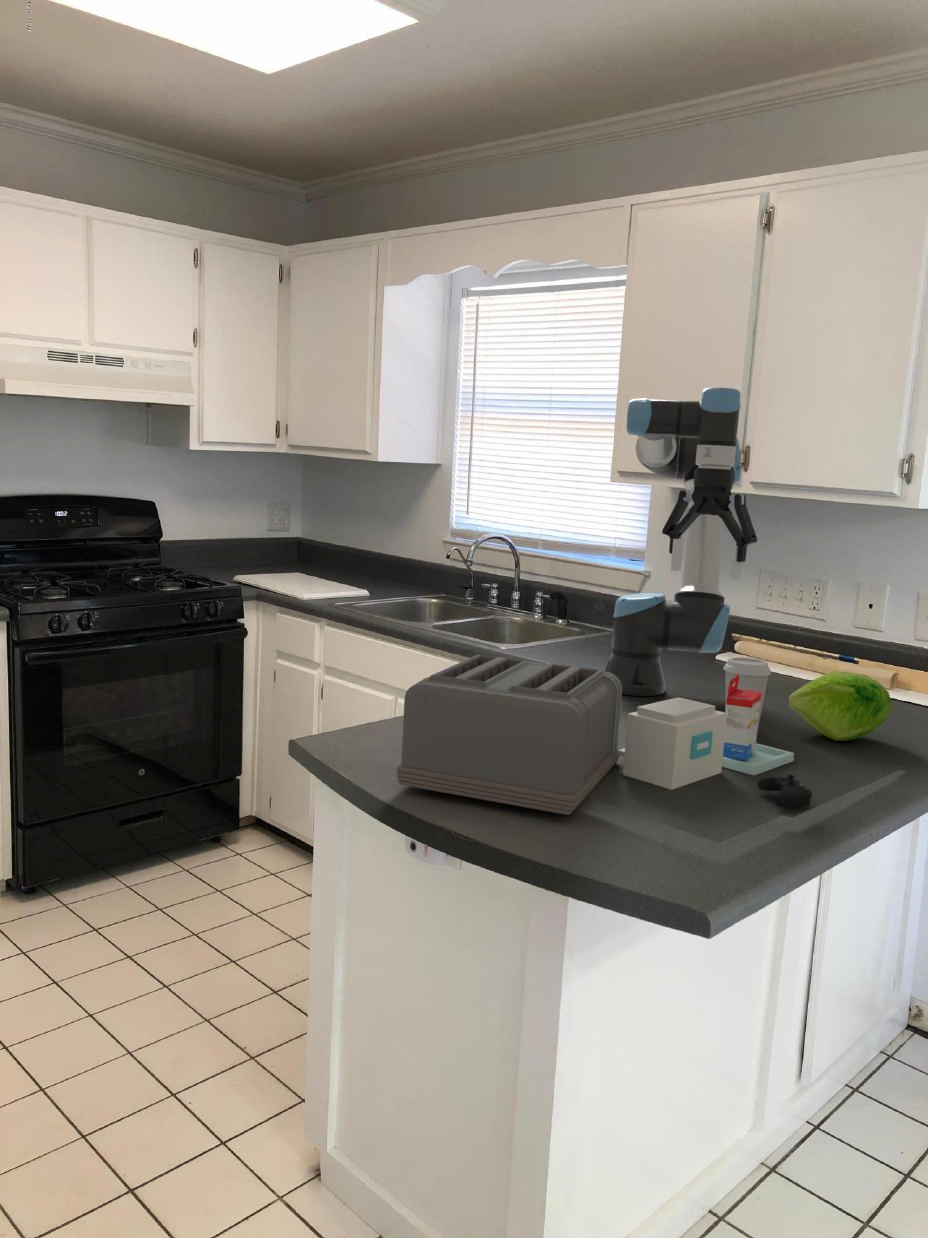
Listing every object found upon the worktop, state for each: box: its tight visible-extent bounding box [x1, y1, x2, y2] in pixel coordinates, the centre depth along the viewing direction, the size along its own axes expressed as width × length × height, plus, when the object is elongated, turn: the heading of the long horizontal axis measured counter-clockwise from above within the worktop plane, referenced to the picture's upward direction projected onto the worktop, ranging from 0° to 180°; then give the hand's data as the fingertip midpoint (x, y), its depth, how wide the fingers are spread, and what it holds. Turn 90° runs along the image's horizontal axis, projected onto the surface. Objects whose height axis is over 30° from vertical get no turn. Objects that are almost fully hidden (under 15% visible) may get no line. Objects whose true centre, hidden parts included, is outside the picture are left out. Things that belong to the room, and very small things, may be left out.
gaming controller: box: [757, 774, 813, 808], centre depth 167 cm, size 10×5×6 cm
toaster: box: [396, 654, 623, 816], centre depth 176 cm, size 30×36×18 cm
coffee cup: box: [723, 656, 772, 733], centre depth 211 cm, size 10×10×15 cm
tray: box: [722, 742, 795, 776], centre depth 192 cm, size 15×15×2 cm
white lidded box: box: [617, 697, 727, 791], centre depth 180 cm, size 14×16×12 cm
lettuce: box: [788, 671, 893, 742], centre depth 211 cm, size 15×20×14 cm
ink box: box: [723, 674, 761, 761], centre depth 191 cm, size 8×5×15 cm, turn 153°
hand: (704, 574), depth 204 cm, fingers open, 13 cm apart
